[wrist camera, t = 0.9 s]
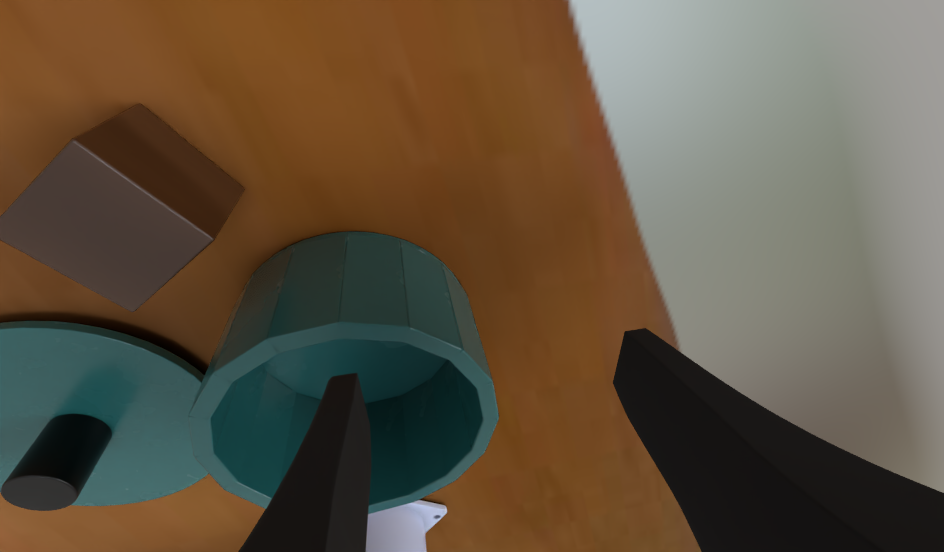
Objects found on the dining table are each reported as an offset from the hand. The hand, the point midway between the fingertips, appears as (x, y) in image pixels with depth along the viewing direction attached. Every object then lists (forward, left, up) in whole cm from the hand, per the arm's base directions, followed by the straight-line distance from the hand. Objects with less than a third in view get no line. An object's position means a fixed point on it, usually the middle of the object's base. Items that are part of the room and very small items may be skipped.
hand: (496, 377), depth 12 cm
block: (-5, +10, -10) cm, 15 cm away
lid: (-18, +9, -9) cm, 23 cm away
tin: (-8, 0, -10) cm, 12 cm away
